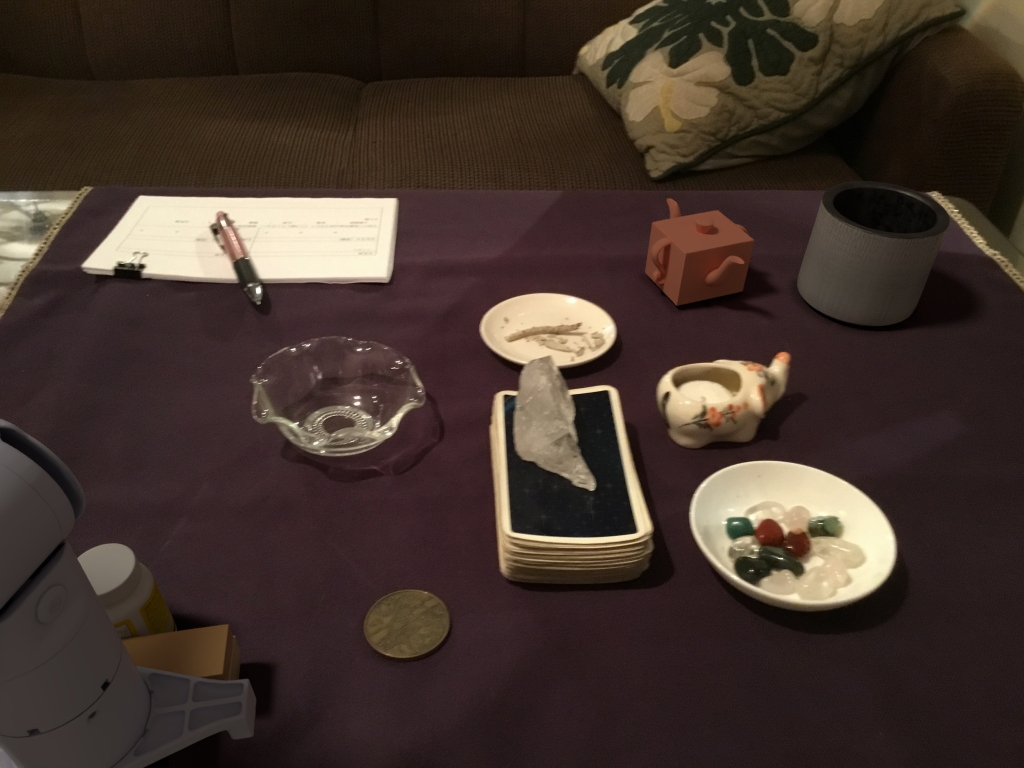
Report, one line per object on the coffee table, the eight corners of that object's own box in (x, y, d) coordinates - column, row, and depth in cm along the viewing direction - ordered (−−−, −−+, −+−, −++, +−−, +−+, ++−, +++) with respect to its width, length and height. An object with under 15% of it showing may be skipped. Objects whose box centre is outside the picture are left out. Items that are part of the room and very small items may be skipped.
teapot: (680, 334, 82) (693, 265, 76) (614, 262, 92) (622, 197, 87) (775, 312, 85) (794, 244, 80) (702, 245, 96) (714, 181, 91)
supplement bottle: (156, 601, 56) (120, 525, 51) (191, 642, 54) (157, 565, 48) (90, 646, 53) (45, 570, 48) (124, 690, 51) (80, 615, 46)
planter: (876, 346, 81) (913, 251, 74) (772, 294, 88) (797, 203, 81) (934, 302, 87) (974, 211, 80) (833, 256, 94) (861, 169, 87)
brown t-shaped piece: (63, 909, 40) (39, 882, 38) (120, 670, 51) (104, 639, 49) (217, 881, 41) (202, 853, 39) (241, 653, 52) (230, 621, 50)
